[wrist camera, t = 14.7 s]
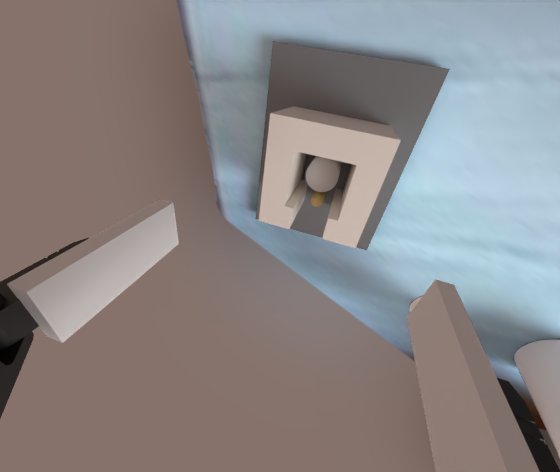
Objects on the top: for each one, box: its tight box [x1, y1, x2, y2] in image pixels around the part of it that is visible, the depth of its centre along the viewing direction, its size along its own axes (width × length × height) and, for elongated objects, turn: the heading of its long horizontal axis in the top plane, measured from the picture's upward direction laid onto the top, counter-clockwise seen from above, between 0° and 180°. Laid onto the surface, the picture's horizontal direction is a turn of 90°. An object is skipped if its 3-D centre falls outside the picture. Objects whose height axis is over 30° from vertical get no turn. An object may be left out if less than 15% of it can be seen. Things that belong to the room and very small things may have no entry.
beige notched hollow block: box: [259, 106, 401, 248], centre depth 24 cm, size 10×10×8 cm
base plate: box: [256, 41, 449, 250], centre depth 25 cm, size 20×16×6 cm
